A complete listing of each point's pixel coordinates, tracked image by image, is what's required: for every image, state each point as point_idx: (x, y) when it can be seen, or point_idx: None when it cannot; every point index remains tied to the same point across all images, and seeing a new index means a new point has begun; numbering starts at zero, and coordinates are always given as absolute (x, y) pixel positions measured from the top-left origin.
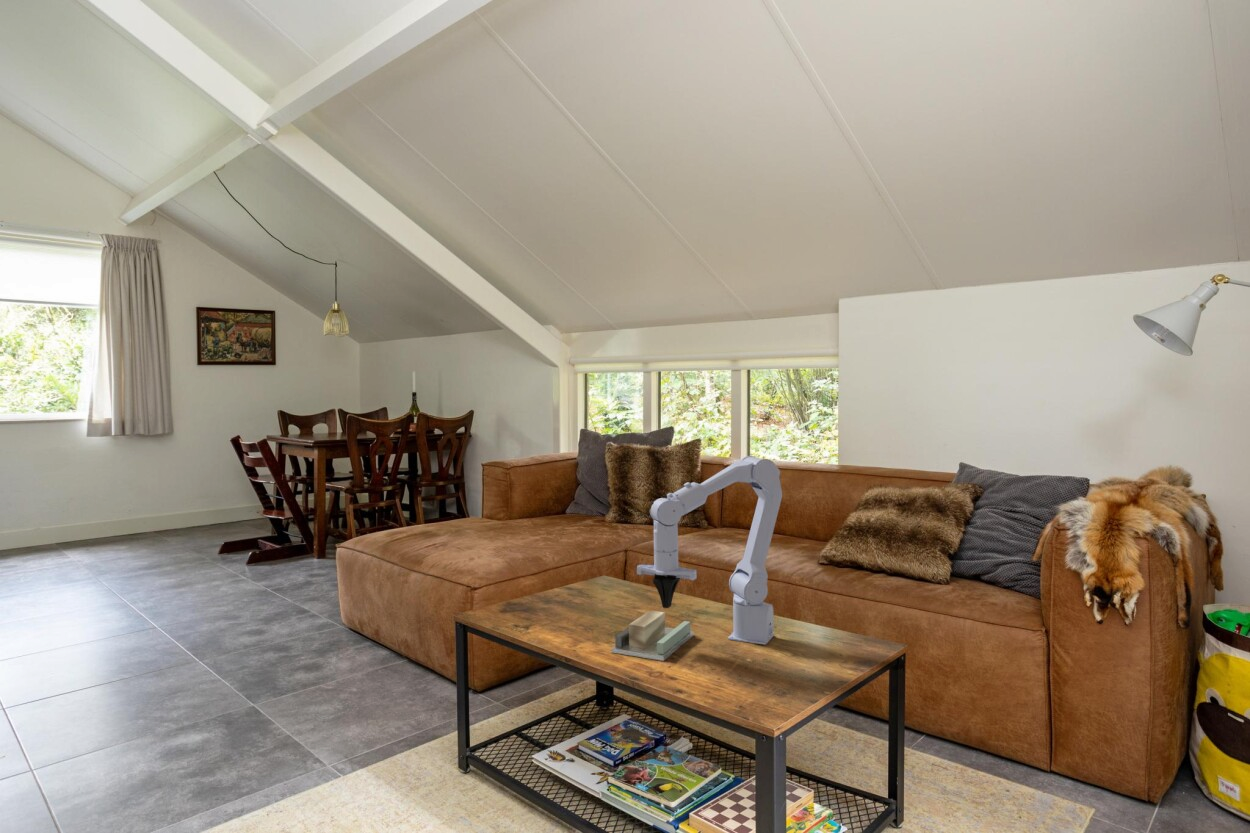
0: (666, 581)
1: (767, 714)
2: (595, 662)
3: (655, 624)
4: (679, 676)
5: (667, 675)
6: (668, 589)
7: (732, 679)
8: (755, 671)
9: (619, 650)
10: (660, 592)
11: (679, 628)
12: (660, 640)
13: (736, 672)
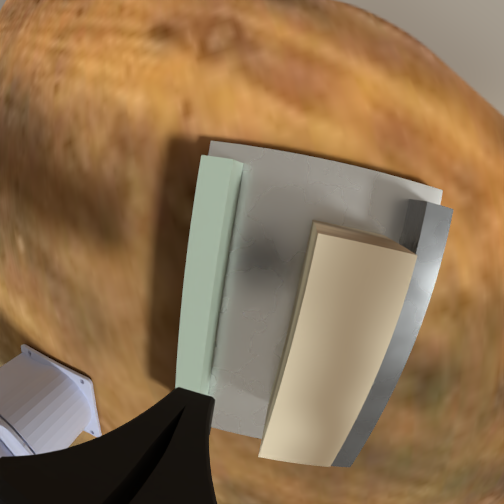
0: (21, 501)
1: (14, 5)
2: (454, 95)
3: (284, 361)
4: (145, 50)
5: (180, 41)
6: (80, 457)
7: (34, 100)
8: (4, 171)
9: (409, 180)
10: (186, 470)
11: (184, 368)
12: (223, 192)
13: (28, 146)
